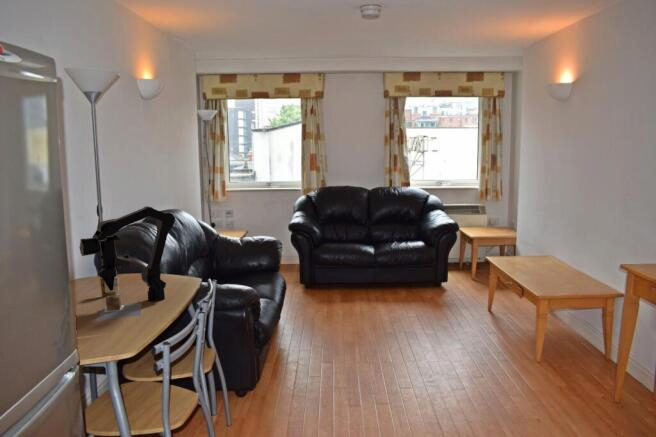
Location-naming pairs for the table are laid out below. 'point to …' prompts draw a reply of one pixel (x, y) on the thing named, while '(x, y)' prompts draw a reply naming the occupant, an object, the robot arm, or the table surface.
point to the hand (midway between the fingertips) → (112, 288)
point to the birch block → (115, 287)
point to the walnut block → (113, 302)
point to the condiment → (104, 290)
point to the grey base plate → (121, 312)
